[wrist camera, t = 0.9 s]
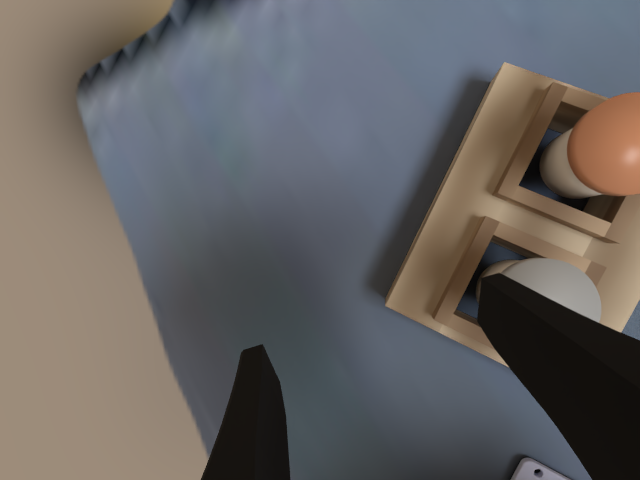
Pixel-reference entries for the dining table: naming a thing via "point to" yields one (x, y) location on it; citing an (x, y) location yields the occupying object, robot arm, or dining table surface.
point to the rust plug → (597, 152)
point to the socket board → (515, 213)
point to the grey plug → (551, 283)
